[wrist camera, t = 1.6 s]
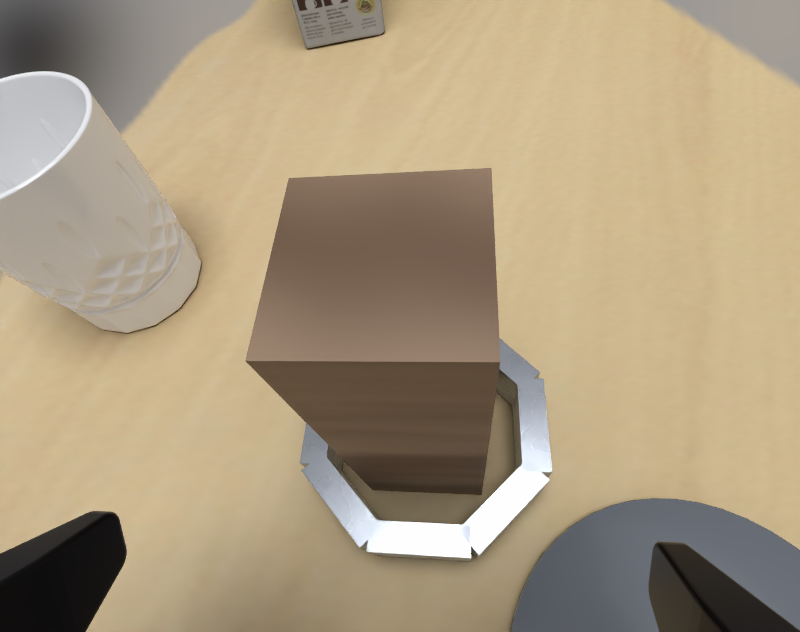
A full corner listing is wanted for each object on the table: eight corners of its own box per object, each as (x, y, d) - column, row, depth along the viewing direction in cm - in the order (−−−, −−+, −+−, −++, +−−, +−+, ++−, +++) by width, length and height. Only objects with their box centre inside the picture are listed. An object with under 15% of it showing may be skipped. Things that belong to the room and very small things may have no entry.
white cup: (209, 211, 29) (98, 51, 20) (215, 320, 25) (80, 178, 16) (82, 246, 29) (-84, 100, 20) (68, 361, 25) (-148, 241, 16)
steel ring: (549, 566, 17) (560, 563, 15) (307, 551, 19) (286, 546, 17) (530, 341, 22) (537, 314, 20) (336, 341, 23) (323, 316, 21)
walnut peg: (481, 494, 19) (500, 361, 8) (372, 489, 20) (245, 360, 8) (479, 390, 21) (491, 168, 10) (381, 388, 22) (289, 177, 11)
